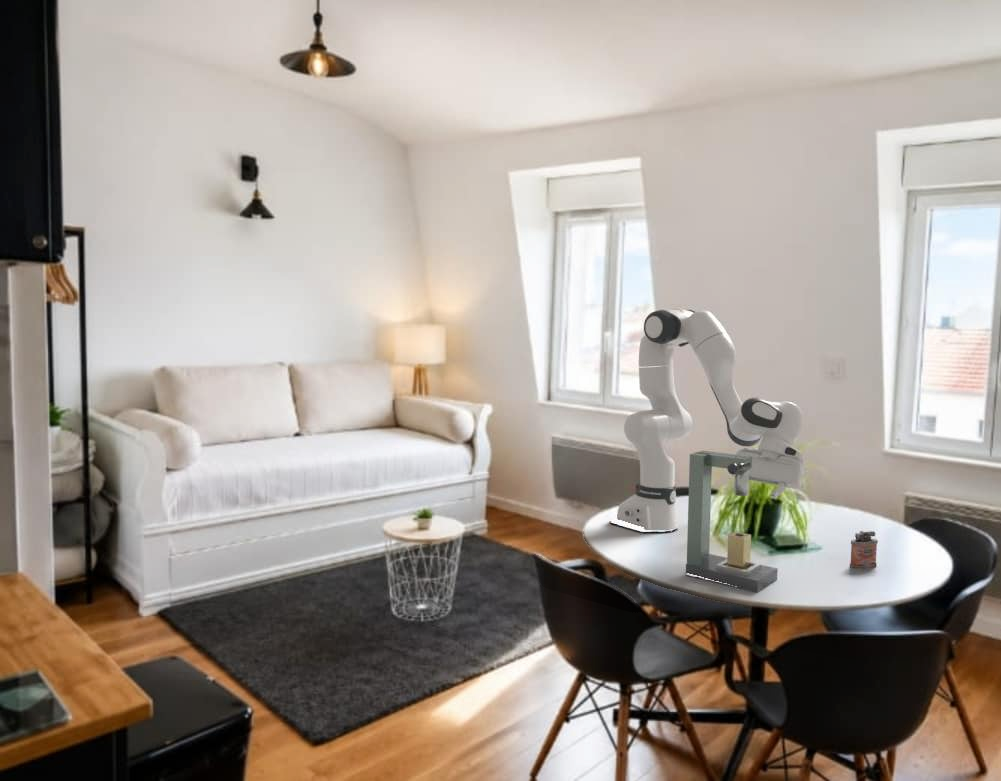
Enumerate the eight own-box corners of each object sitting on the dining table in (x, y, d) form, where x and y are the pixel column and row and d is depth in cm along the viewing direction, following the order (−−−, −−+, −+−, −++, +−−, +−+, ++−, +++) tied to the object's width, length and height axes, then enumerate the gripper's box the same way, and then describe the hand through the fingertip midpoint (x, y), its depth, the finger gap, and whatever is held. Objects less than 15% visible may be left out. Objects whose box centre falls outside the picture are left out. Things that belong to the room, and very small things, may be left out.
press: (676, 580, 213) (680, 457, 210) (707, 563, 227) (710, 448, 224) (749, 597, 200) (754, 466, 197) (777, 579, 214) (782, 456, 211)
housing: (727, 568, 214) (728, 534, 213) (734, 564, 217) (735, 531, 216) (742, 571, 211) (744, 537, 210) (749, 567, 214) (751, 534, 213)
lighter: (855, 569, 222) (856, 534, 221) (846, 565, 226) (848, 531, 225) (879, 567, 225) (881, 532, 224) (870, 563, 228) (872, 528, 227)
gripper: (736, 441, 234) (718, 481, 228) (806, 452, 220) (789, 495, 215) (742, 453, 238) (725, 492, 232) (811, 465, 224) (795, 507, 219)
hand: (756, 494), depth 223 cm, fingers open, 8 cm apart
